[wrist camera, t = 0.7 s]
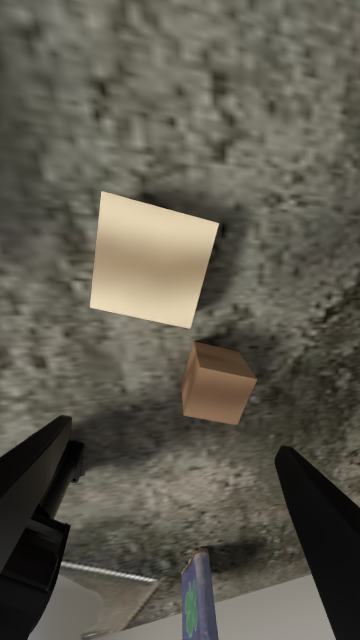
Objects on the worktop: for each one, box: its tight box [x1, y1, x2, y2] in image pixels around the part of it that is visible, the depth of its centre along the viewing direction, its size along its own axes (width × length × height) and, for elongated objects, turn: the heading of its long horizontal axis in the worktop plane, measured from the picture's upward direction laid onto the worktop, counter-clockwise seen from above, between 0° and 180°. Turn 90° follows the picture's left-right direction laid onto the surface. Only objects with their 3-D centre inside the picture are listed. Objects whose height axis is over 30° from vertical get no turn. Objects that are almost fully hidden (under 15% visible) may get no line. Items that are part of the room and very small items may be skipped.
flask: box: [181, 547, 218, 640], centre depth 29 cm, size 9×3×11 cm, turn 161°
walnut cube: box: [181, 341, 257, 425], centre depth 20 cm, size 5×5×5 cm
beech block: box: [90, 191, 219, 329], centre depth 17 cm, size 8×8×4 cm
